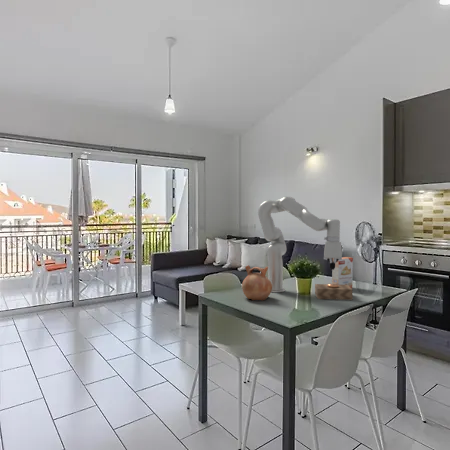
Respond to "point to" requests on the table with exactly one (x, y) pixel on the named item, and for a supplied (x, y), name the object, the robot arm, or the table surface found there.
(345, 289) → the brown patterned box
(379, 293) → the table surface
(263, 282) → the jug
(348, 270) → the cracker box
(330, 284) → the knob
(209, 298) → the table surface
